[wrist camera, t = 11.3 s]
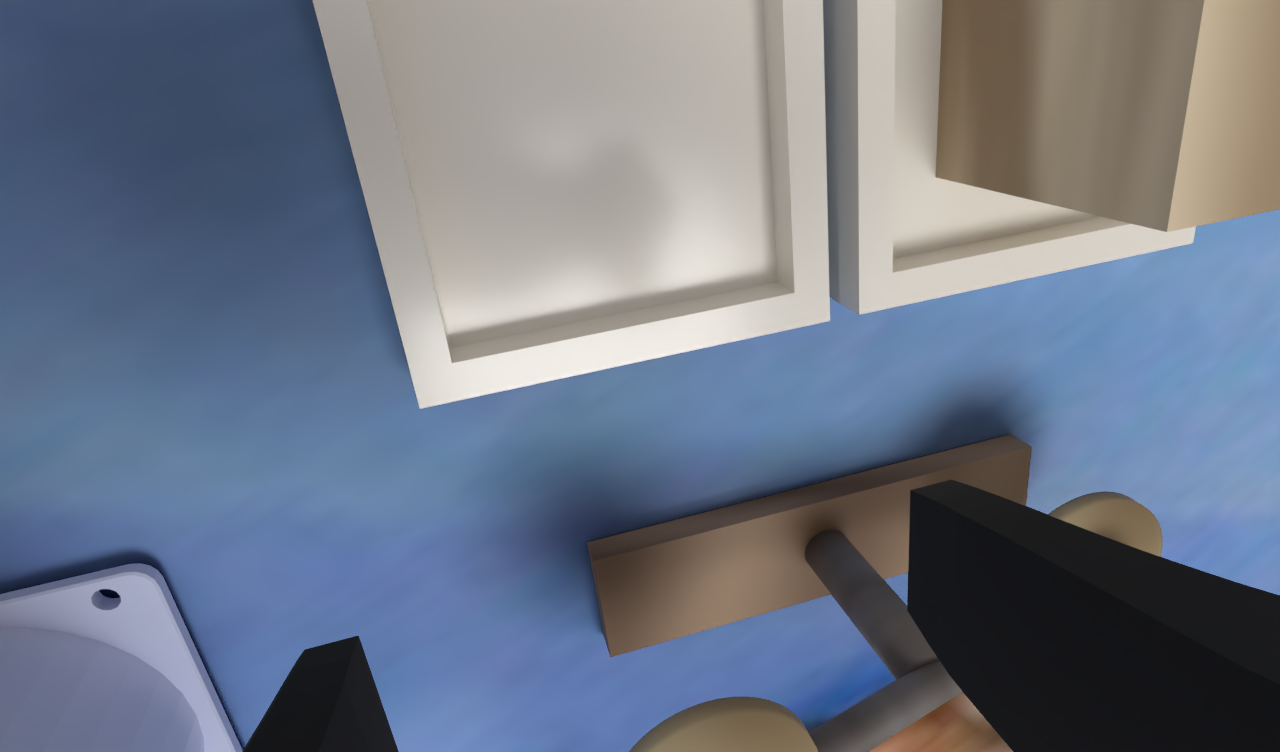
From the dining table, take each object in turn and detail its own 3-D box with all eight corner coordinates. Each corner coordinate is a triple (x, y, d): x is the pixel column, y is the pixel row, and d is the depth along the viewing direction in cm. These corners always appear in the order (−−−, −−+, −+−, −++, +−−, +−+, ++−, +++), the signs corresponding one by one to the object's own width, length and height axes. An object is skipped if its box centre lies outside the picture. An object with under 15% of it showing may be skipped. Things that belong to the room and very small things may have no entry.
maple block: (935, 177, 17) (1166, 232, 12) (943, -24, 16) (1215, -65, 10) (1089, 150, 18) (1372, 190, 13) (1111, -45, 16) (1446, -93, 11)
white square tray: (419, 380, 17) (420, 409, 15) (297, -94, 13) (283, -111, 12) (799, 301, 18) (830, 320, 17) (782, -139, 15) (819, -160, 13)
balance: (567, 661, 21) (636, 941, 14) (542, 536, 19) (605, 786, 12) (1033, 529, 23) (1272, 714, 17) (1045, 409, 22) (1315, 562, 15)
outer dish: (827, 295, 18) (859, 314, 17) (817, -143, 15) (856, -163, 14) (1141, 230, 20) (1192, 243, 19) (1199, -179, 17) (1268, -200, 15)
